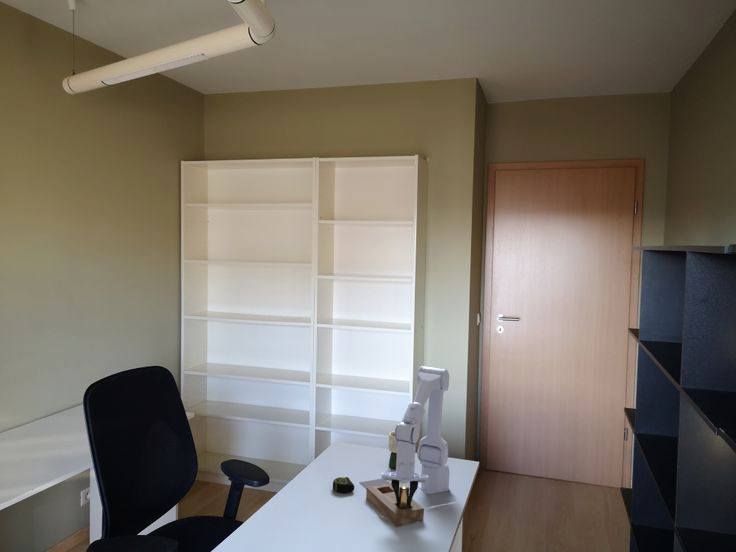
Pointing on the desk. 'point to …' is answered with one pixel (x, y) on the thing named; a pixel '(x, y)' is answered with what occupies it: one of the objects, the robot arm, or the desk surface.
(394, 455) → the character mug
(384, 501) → the block
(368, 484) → the rubber mat
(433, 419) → the robot arm
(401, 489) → the brass pin
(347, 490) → the tape measure
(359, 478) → the desk surface
